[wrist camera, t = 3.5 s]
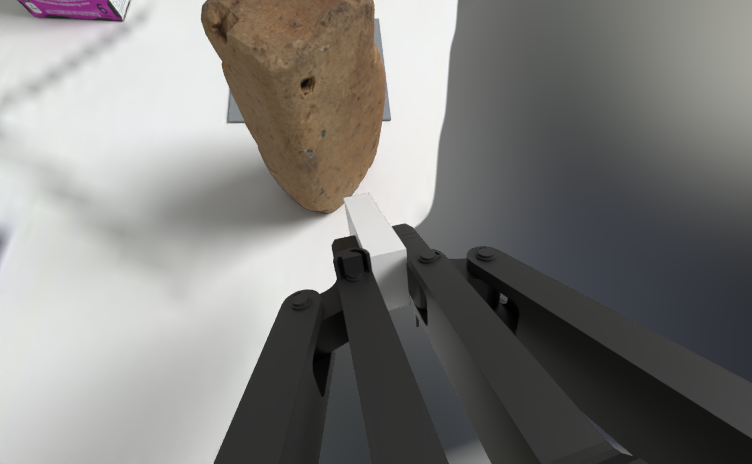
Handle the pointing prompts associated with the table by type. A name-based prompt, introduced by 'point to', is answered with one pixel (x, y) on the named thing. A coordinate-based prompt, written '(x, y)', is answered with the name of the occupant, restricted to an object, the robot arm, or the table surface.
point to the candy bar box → (78, 8)
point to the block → (304, 89)
